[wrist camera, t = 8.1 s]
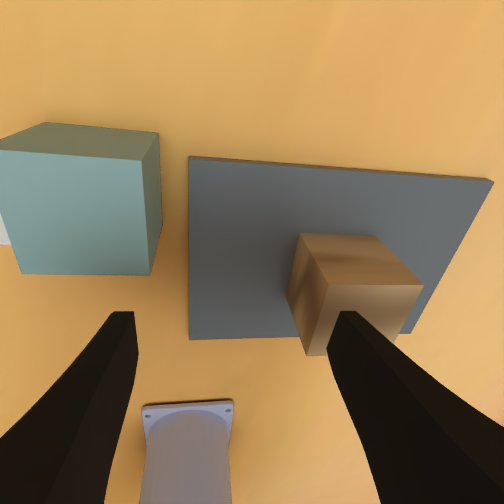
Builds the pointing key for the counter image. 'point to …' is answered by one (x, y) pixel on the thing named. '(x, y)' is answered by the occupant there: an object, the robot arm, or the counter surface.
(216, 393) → the counter surface
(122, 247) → the teal block
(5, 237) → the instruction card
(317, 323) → the brown wooden cube
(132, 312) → the robot arm
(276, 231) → the baseplate
